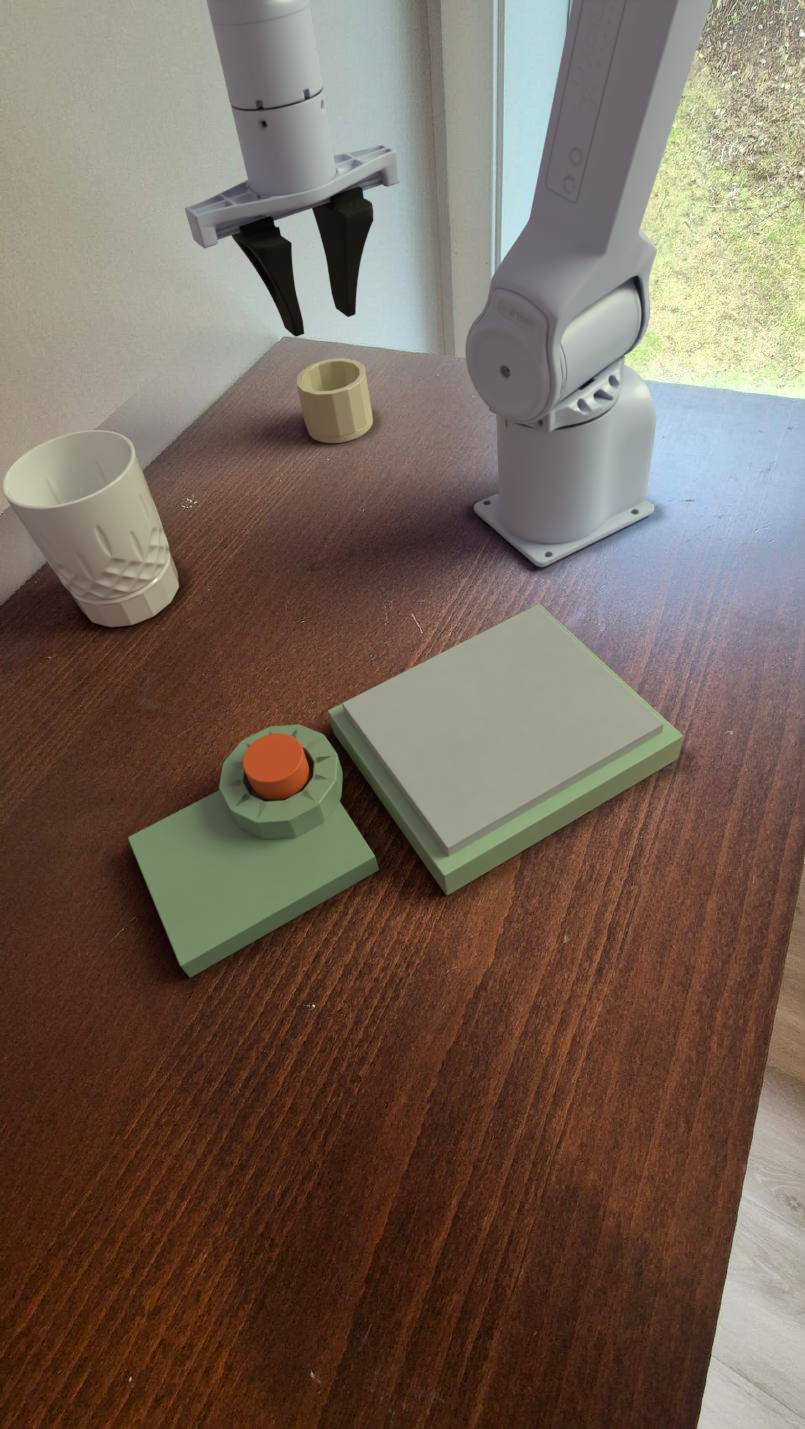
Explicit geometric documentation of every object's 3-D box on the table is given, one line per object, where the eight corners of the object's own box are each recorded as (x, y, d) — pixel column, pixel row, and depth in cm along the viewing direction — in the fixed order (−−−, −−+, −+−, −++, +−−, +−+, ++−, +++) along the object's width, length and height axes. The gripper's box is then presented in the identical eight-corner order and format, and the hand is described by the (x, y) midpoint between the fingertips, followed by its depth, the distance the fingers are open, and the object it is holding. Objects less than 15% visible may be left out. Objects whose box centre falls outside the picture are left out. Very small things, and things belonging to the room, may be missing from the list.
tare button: (294, 742, 42) (287, 723, 41) (319, 781, 40) (313, 763, 39) (241, 769, 41) (232, 750, 40) (264, 810, 40) (256, 792, 38)
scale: (538, 627, 49) (539, 592, 47) (678, 759, 42) (686, 725, 40) (333, 733, 46) (323, 700, 43) (446, 896, 38) (442, 867, 36)
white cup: (162, 638, 52) (99, 509, 45) (54, 631, 54) (-25, 506, 46) (204, 558, 57) (155, 429, 49) (104, 554, 59) (41, 429, 51)
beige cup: (353, 399, 69) (345, 350, 65) (385, 427, 65) (378, 377, 62) (296, 422, 67) (284, 374, 64) (325, 452, 64) (315, 402, 61)
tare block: (317, 742, 45) (305, 707, 43) (396, 860, 40) (388, 828, 38) (131, 837, 43) (109, 806, 40) (189, 978, 37) (167, 951, 35)
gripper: (351, 56, 54) (379, 273, 64) (144, 116, 50) (210, 335, 60) (404, 73, 49) (426, 302, 60) (183, 139, 46) (246, 370, 56)
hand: (320, 321), depth 60 cm, fingers open, 4 cm apart
